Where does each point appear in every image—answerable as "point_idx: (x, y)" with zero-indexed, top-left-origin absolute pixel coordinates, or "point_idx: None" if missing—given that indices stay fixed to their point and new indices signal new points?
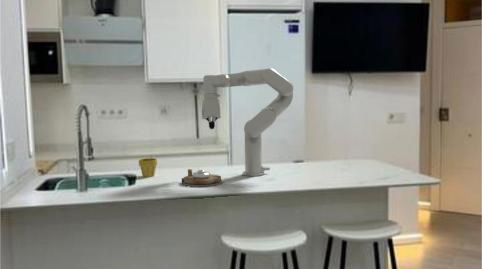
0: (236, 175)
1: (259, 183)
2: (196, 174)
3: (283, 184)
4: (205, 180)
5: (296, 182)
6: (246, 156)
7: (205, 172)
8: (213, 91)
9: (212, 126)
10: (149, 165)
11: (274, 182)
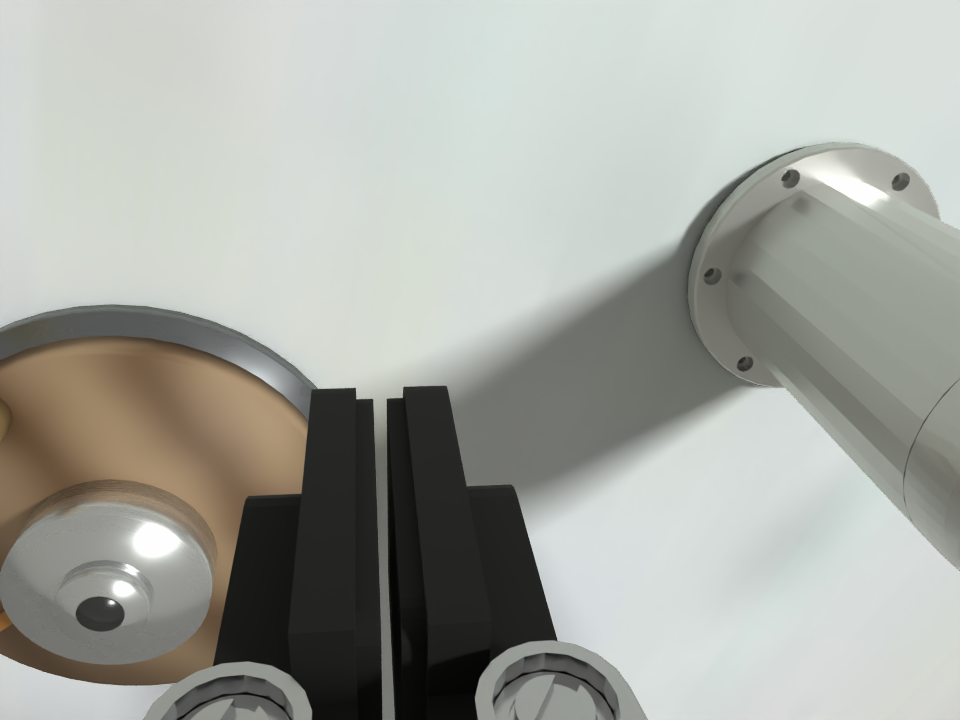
0: (614, 254)
1: (628, 645)
2: (42, 647)
3: (760, 708)
4: (148, 668)
5: (877, 677)
6: (829, 408)
7: (160, 578)
8: None
9: (392, 639)
10: None
11: (747, 643)
